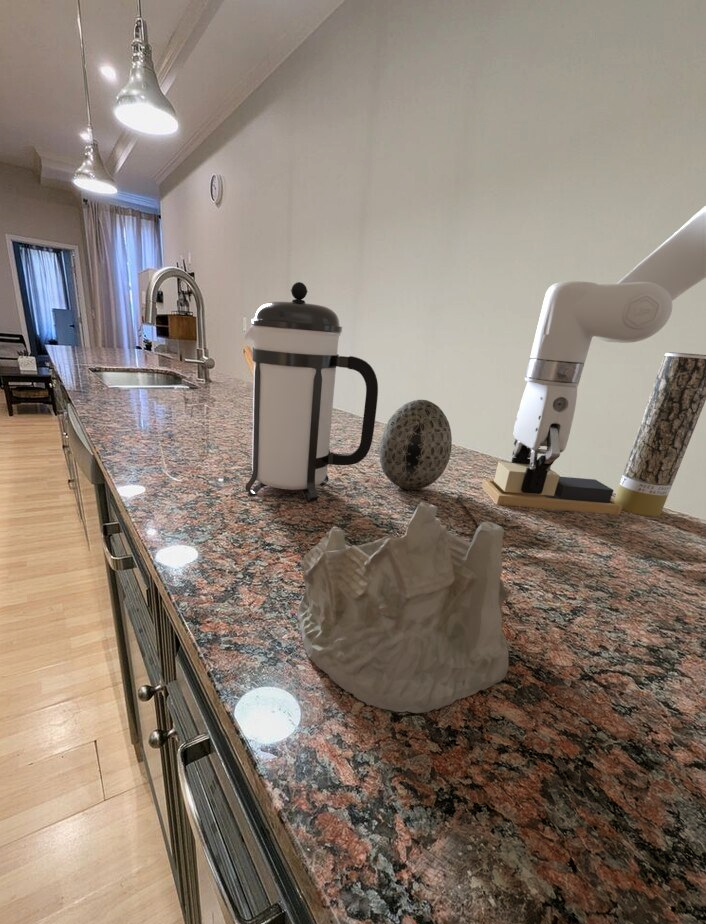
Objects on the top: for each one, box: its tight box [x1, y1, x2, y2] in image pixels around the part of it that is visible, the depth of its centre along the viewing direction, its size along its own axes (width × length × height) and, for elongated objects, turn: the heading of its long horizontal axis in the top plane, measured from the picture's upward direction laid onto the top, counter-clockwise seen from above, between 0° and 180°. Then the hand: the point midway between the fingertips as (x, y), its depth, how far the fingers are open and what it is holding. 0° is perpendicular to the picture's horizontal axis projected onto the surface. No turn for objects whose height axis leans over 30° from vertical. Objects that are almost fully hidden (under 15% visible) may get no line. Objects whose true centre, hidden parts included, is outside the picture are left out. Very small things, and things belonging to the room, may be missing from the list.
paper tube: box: [613, 351, 706, 517], centre depth 70 cm, size 7×7×25 cm
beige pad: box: [493, 461, 561, 496], centre depth 74 cm, size 8×6×4 cm
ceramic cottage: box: [296, 501, 511, 714], centre depth 36 cm, size 16×16×15 cm
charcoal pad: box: [545, 476, 615, 503], centre depth 74 cm, size 8×6×4 cm
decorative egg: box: [378, 399, 453, 491], centre depth 75 cm, size 12×12×15 cm
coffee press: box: [243, 281, 379, 503], centre depth 67 cm, size 17×16×30 cm
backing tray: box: [481, 478, 623, 516], centre depth 75 cm, size 20×9×2 cm, turn 88°
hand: (523, 485), depth 74 cm, fingers closed on beige pad, 5 cm apart
